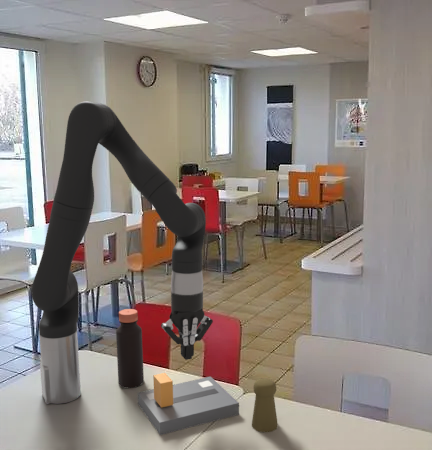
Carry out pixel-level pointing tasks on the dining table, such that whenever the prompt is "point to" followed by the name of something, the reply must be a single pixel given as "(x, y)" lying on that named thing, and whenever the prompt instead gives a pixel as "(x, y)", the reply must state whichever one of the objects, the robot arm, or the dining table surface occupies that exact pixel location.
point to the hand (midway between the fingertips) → (187, 358)
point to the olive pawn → (264, 406)
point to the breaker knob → (163, 389)
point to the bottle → (129, 350)
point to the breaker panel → (189, 405)
